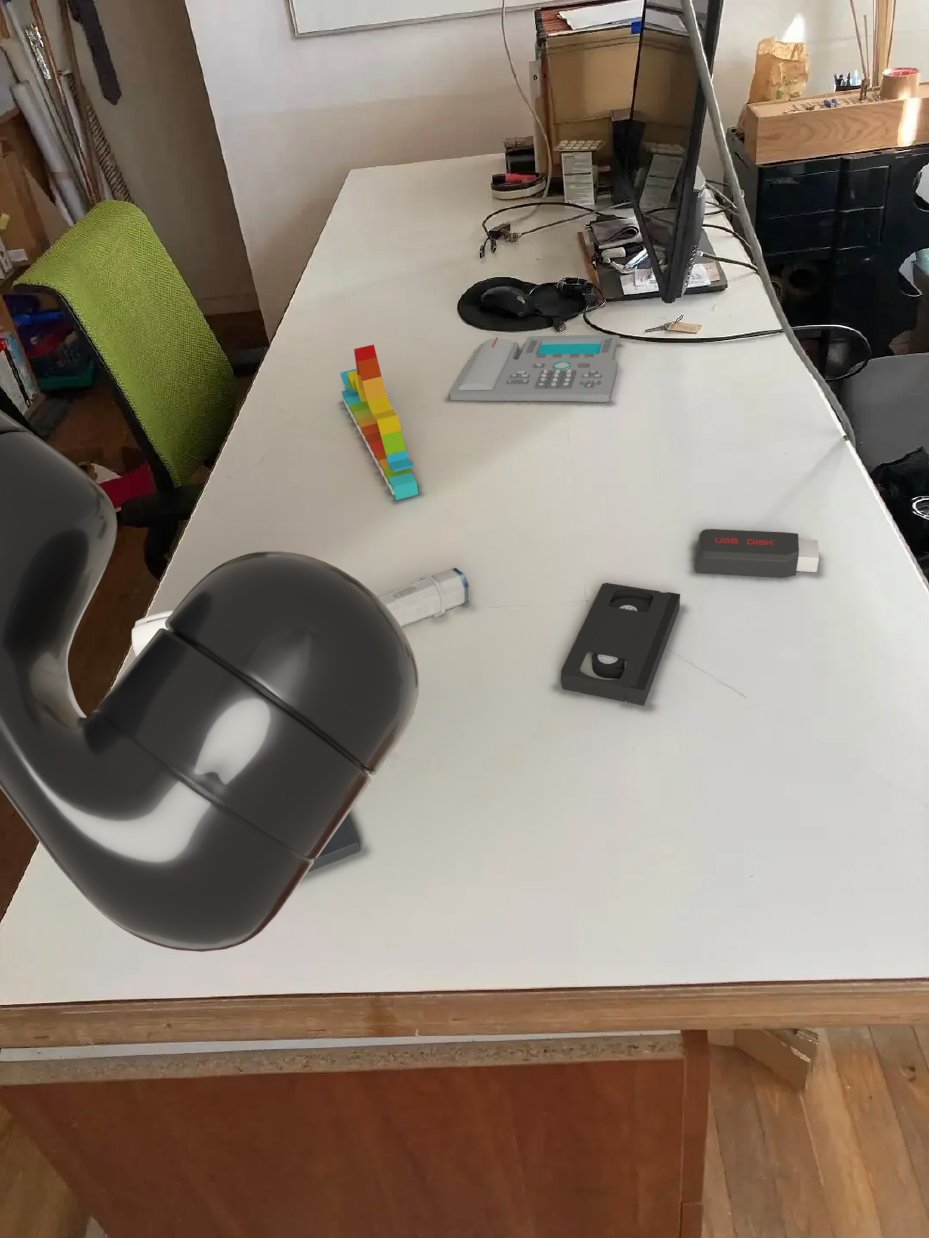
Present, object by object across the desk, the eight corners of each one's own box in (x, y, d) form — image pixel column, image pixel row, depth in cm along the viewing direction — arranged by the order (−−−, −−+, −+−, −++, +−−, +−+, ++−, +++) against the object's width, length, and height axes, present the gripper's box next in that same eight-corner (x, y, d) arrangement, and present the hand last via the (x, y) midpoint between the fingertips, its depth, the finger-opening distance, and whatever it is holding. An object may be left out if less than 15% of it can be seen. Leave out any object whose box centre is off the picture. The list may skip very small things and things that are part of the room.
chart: (342, 403, 138) (321, 304, 129) (363, 398, 139) (344, 299, 129) (394, 501, 115) (373, 389, 106) (418, 494, 116) (400, 383, 106)
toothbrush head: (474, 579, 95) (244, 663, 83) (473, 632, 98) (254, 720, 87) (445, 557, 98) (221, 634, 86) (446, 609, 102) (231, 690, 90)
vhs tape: (603, 597, 96) (603, 581, 95) (679, 609, 94) (680, 593, 92) (560, 688, 87) (559, 673, 85) (644, 705, 84) (644, 689, 82)
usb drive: (698, 544, 102) (699, 523, 100) (814, 550, 99) (818, 528, 97) (695, 573, 98) (697, 551, 96) (816, 579, 95) (820, 558, 93)
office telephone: (447, 385, 133) (479, 328, 148) (449, 402, 135) (481, 344, 150) (609, 385, 127) (626, 326, 142) (609, 403, 129) (626, 342, 144)
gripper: (367, 622, 43) (342, 662, 60) (75, 721, 40) (136, 734, 56) (423, 776, 42) (381, 772, 59) (131, 889, 39) (175, 851, 56)
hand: (261, 753), depth 58 cm, fingers closed
